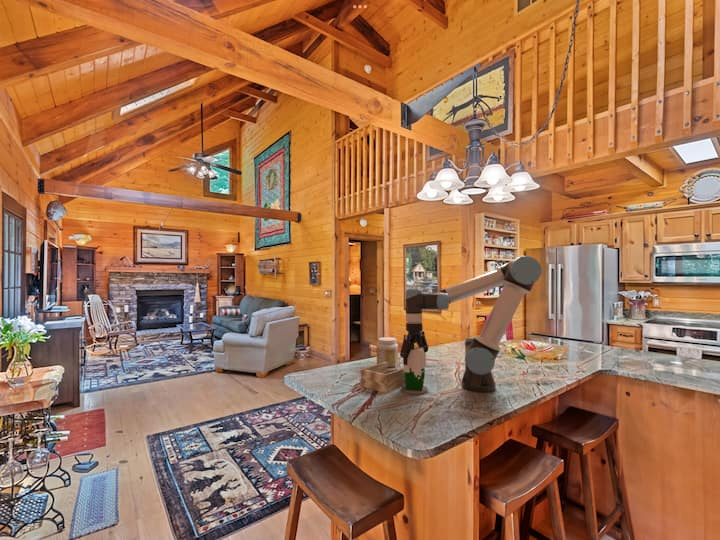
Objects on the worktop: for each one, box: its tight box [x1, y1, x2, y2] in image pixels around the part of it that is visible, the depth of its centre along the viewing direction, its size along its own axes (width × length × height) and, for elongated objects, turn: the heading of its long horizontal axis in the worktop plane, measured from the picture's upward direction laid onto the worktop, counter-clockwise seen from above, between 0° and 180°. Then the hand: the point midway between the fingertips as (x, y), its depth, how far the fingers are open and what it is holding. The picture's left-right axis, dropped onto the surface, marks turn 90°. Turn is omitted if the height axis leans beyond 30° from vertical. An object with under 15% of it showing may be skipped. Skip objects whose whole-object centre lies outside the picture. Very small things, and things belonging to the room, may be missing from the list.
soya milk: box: [405, 344, 426, 391], centre depth 160 cm, size 9×9×20 cm
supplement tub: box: [376, 336, 399, 372], centre depth 197 cm, size 12×12×17 cm
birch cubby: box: [360, 362, 406, 394], centre depth 168 cm, size 15×20×8 cm
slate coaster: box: [400, 385, 429, 396], centre depth 159 cm, size 12×12×1 cm
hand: (415, 368), depth 160 cm, fingers open, 13 cm apart
